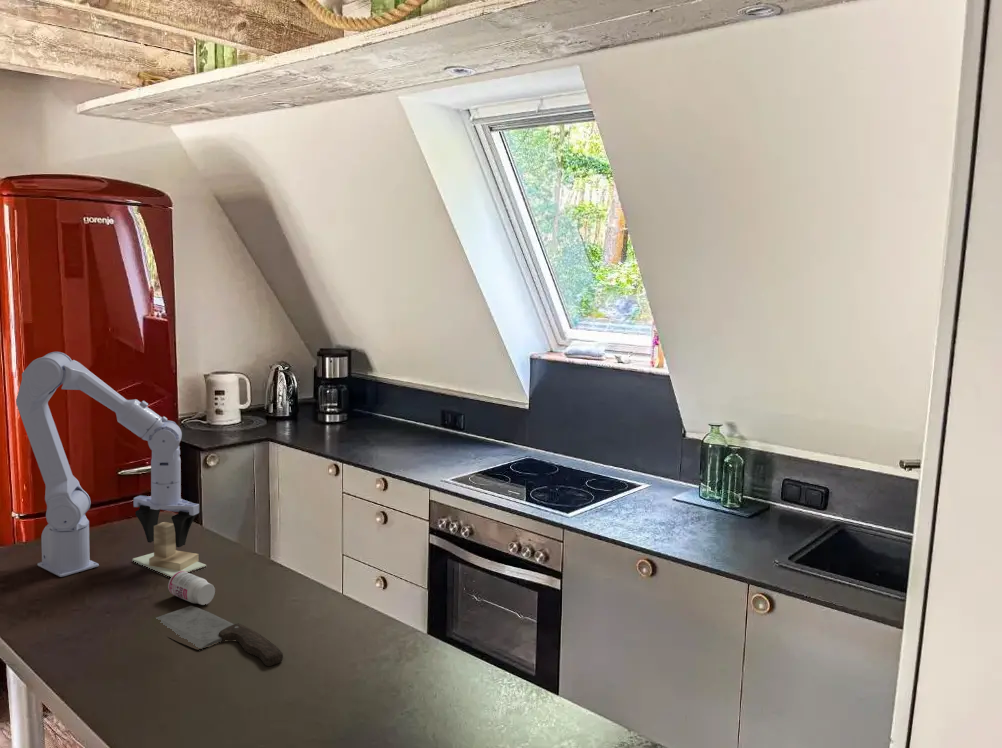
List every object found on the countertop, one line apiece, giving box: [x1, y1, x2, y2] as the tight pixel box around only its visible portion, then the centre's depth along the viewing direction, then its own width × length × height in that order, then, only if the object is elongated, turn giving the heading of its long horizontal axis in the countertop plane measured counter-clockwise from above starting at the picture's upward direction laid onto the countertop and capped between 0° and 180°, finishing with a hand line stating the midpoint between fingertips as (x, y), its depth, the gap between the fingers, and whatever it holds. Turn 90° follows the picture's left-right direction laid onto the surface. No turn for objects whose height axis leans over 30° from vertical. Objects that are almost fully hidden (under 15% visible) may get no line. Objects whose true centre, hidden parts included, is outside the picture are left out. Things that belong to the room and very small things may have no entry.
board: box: [132, 552, 207, 577], centre depth 172 cm, size 14×8×1 cm, turn 55°
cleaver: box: [155, 605, 284, 667], centre depth 141 cm, size 30×10×2 cm, turn 55°
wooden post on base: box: [149, 521, 200, 571], centre depth 171 cm, size 8×6×8 cm
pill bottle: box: [167, 571, 216, 606], centre depth 155 cm, size 5×5×8 cm
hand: (166, 543), depth 172 cm, fingers open, 6 cm apart
